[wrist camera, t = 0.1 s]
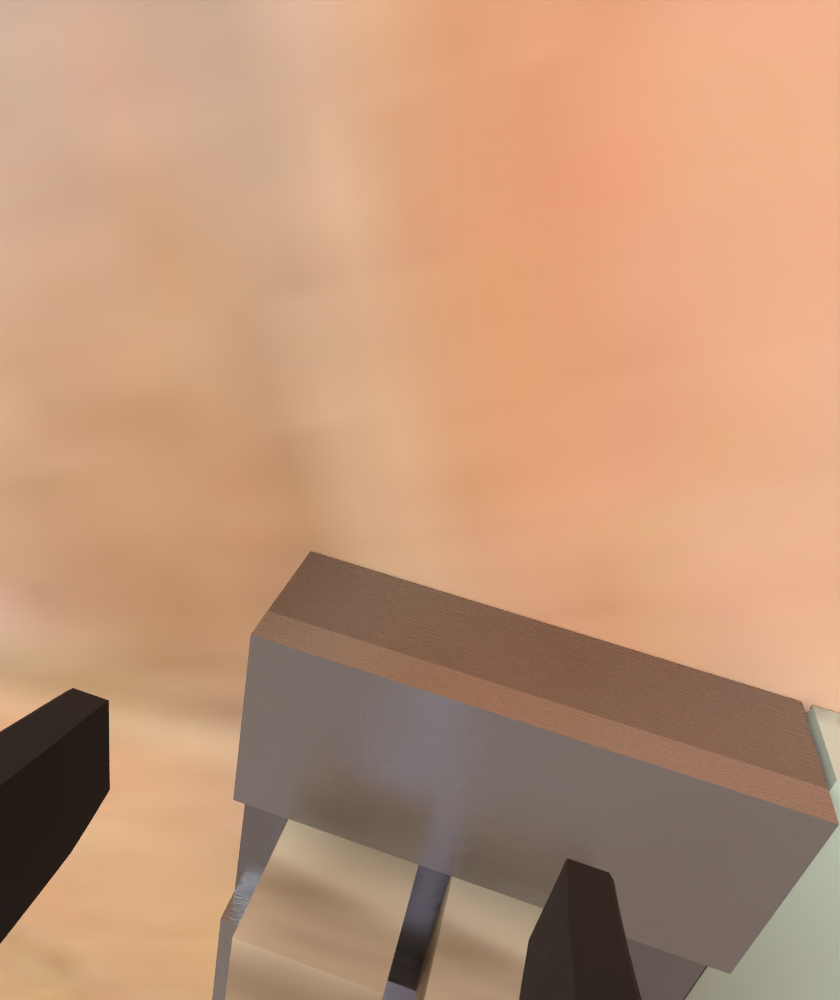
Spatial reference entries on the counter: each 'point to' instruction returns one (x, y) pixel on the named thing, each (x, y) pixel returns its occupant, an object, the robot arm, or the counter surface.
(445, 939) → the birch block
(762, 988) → the tray
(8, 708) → the counter surface
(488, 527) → the counter surface
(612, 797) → the slotted plate
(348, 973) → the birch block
